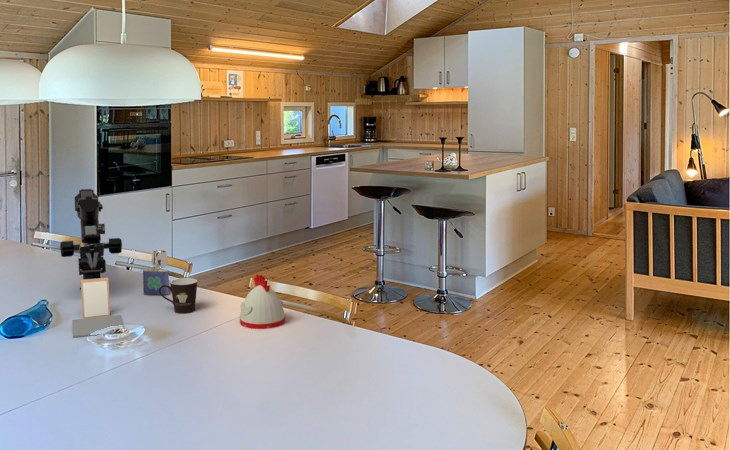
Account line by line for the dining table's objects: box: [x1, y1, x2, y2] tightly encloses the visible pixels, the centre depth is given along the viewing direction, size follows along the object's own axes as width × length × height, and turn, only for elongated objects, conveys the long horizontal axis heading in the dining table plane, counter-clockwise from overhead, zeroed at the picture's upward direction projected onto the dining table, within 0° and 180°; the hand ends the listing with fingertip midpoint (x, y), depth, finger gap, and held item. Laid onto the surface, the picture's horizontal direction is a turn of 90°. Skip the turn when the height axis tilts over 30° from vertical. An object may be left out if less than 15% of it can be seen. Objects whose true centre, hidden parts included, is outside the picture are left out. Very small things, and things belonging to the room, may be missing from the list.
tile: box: [80, 277, 111, 319], centre depth 203 cm, size 3×8×12 cm, turn 115°
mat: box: [71, 314, 124, 339], centre depth 194 cm, size 16×14×1 cm
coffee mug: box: [159, 277, 198, 315], centre depth 211 cm, size 12×9×10 cm
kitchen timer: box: [239, 274, 286, 330], centre depth 200 cm, size 14×14×15 cm
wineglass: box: [151, 249, 169, 270], centre depth 245 cm, size 6×6×12 cm
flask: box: [142, 265, 170, 297], centre depth 228 cm, size 9×3×11 cm, turn 87°
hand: (93, 268), depth 209 cm, fingers closed
